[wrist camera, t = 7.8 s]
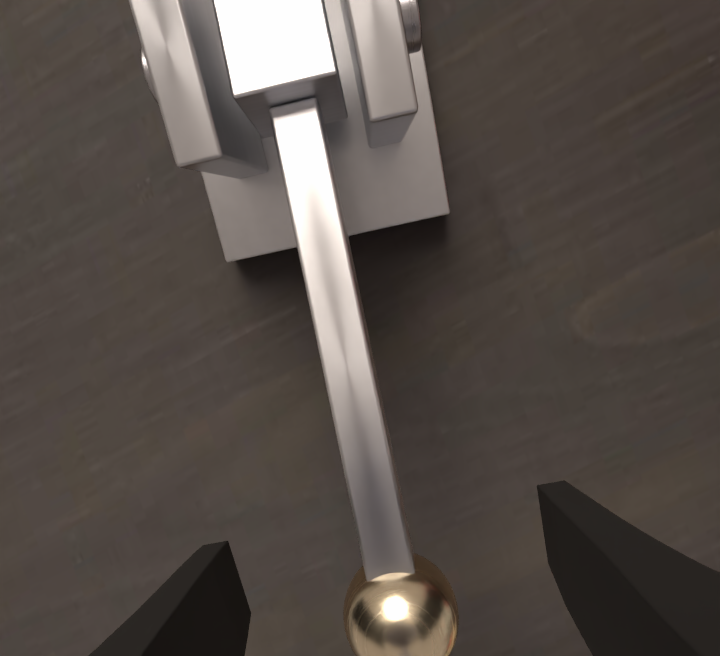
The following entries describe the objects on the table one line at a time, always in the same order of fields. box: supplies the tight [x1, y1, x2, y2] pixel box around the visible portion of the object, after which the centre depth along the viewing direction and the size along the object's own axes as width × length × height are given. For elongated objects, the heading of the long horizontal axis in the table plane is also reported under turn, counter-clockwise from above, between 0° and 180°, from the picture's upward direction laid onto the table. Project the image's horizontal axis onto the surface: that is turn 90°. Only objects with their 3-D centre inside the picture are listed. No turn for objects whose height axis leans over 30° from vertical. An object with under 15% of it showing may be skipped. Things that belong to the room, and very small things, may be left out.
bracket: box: [129, 0, 450, 262], centre depth 12 cm, size 9×7×6 cm
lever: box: [212, 0, 459, 656], centre depth 11 cm, size 16×3×3 cm, turn 12°
